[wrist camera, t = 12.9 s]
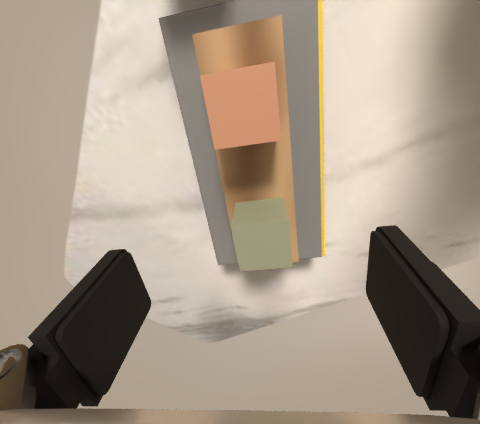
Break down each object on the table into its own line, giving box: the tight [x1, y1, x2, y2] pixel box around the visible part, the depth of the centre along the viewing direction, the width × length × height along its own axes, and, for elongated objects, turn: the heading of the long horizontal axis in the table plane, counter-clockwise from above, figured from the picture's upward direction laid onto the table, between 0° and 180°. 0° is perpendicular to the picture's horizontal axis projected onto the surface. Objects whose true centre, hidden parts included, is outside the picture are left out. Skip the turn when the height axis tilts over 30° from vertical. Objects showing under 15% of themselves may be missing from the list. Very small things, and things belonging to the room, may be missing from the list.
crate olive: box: [231, 197, 293, 271], centre depth 22 cm, size 4×4×4 cm
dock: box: [159, 0, 325, 265], centre depth 28 cm, size 13×26×6 cm, turn 9°
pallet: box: [192, 15, 299, 266], centre depth 24 cm, size 6×21×4 cm, turn 9°
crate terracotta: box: [200, 62, 281, 150], centre depth 18 cm, size 4×4×4 cm
